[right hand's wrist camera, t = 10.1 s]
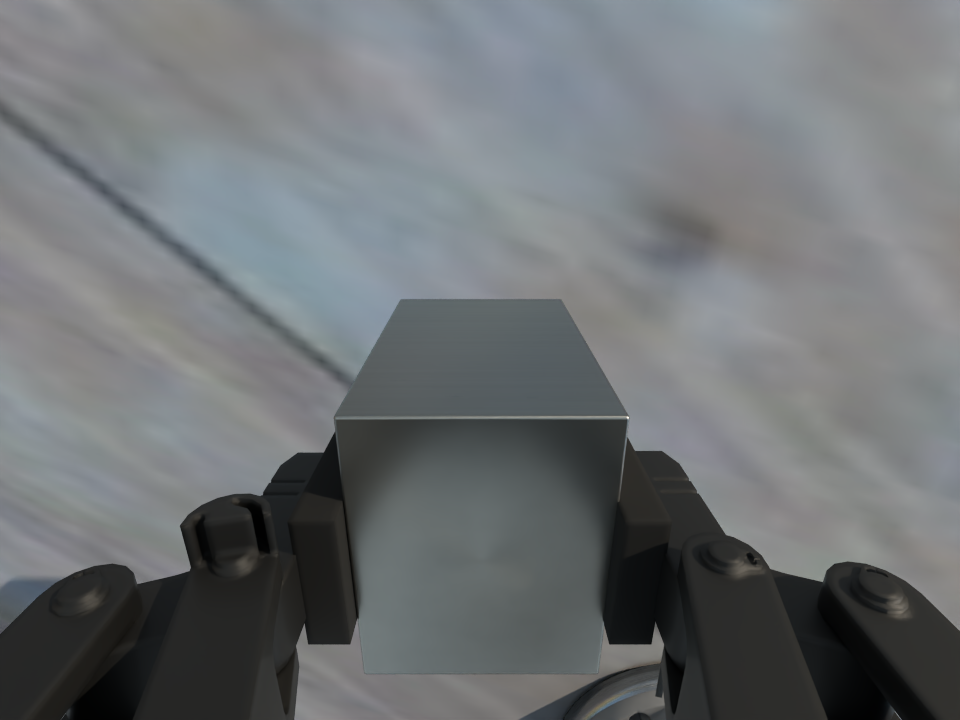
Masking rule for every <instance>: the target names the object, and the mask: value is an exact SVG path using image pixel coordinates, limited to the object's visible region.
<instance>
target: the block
mask: <svg viewBox="0 0 960 720" xmlns="http://www.w3.org/2000/svg"><path fill="white" fill-rule="evenodd" d="M334 424H335V433H336V441H337V449H338V458H339V466H340V475H341V483H342V491H343V500H344V508H345V517H346V525H347V533H348V542H349V550H350V559H351V567H352V576H353V584H354V592H355V601H356V609H357V618H358V626H359V634H360V643H361V651H362V660H363V668H364V673H365V674H598V672H599V664H600V656H601V648H602V640H603V631H604V622H603V618H604V610H605V602H606V593H607V585H608V577H609V568H610V560H611V552H612V543H613V535H614V527H615V518H616V510H617V502H619V500H620V492H621V484H622V475H623V467H624V459H625V451H626V442H627V434H628V426H629V416H628V414H627V412H626V410H625V409H624V407H623V405H622V404H621V402H620V400H619V398H618V397H617V395H616V393H615V391H614V390H613V388H612V386H611V385H610V383H609V381H608V379H607V378H606V376H605V374H604V373H603V371H602V369H601V367H600V366H599V364H598V362H597V360H596V359H595V357H594V355H593V354H592V352H591V350H590V348H589V347H588V345H587V343H586V341H585V340H584V338H583V336H582V335H581V333H580V331H579V329H578V328H577V326H576V324H575V323H574V321H573V319H572V317H571V316H570V314H569V312H568V310H567V309H566V307H565V305H564V304H563V302H562V300H561V299H401V300H400V302H399V303H398V305H397V307H396V309H395V310H394V312H393V314H392V316H391V317H390V319H389V321H388V323H387V324H386V326H385V328H384V330H383V331H382V333H381V335H380V337H379V339H378V340H377V342H376V344H375V346H374V347H373V349H372V351H371V353H370V354H369V356H368V358H367V360H366V361H365V363H364V365H363V367H362V368H361V370H360V372H359V374H358V376H357V377H356V379H355V381H354V383H353V384H352V386H351V388H350V390H349V391H348V393H347V395H346V397H345V398H344V400H343V402H342V404H341V405H340V407H339V409H338V411H337V413H336V414H335V416H334Z"/></svg>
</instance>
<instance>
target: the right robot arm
mask: <svg viewBox="0 0 960 720" xmlns="http://www.w3.org/2000/svg"><path fill="white" fill-rule="evenodd" d="M180 528H181V531H182V535H183V539H184V543H185V546H186V550H187V554H188V558H189V561H190V565H191V569H190V571H189V572H185V573H182V574H179V575H176V576H171V577H167V578H163V579H158V580H154V581H150V582H145V583H141V584H137V582H136V579H135V576H134V573H133V572H132V571H131V570H130V569H129V568H127V567H126V566H122V565H117V564H107V565H99V566H93V567H90V568H87V569H84V570H81V571H78V572H76V573H73V574H71V575H70V576H68V577H66V578H64V579H62V580H60V581H58V582H57V583H55V584H54V585H52V586H51V587H50V588H49V589H47V590H46V591H45V592H43V593H42V594H41V595H40V596H38V597H37V598H36V599H35V600H34V601H33V602H32V603H31V604H30V605H29V606H28V607H27V608H26V609H25V610H24V611H23V612H22V613H21V614H20V615H19V616H18V617H17V618H16V619H15V620H14V621H13V622H12V623H11V624H10V625H9V626H8V627H7V628H6V629H5V630H4V631H3V632H2V633H1V634H0V720H294V715H295V705H296V694H297V684H298V673H299V661H298V655H297V649H296V644H297V641H298V639H299V636H300V634H301V631H302V628H303V626H304V623H305V628H306V634H307V640H308V644H350V643H351V640H352V636H353V632H354V628H355V625H356V621H357V609H356V601H355V592H354V584H353V576H352V567H351V559H350V550H349V542H348V533H347V525H346V517H345V508H344V500H343V491H342V483H341V475H340V466H339V458H338V449H337V441H336V433H334V435H333V437H332V438H331V440H330V442H329V444H328V446H327V448H326V450H325V452H324V453H297V454H296V455H294V456H293V457H291V458H290V459H289V460H287V461H286V462H285V463H283V464H282V465H281V466H280V467H279V469H278V470H277V472H276V473H275V475H274V477H273V478H272V480H271V483H269V484H268V486H267V487H266V489H265V490H264V492H263V495H261V496H257V495H253V494H233V495H229V496H224V497H220V498H217V499H215V500H212V501H210V502H208V503H205V504H203V505H201V506H200V507H198V508H197V509H196V510H194V511H193V512H191V513H190V514H189V515H188V516H187V517H186V518H185V520H184V521H183V522H182V524H181V525H180ZM655 621H656V624H657V627H658V629H659V632H660V634H661V637H662V640H663V642H664V649H663V655H662V660H661V663H660V664H653V665H648V666H643V667H639V668H636V669H632V670H629V671H626V672H623V673H621V674H618V675H616V676H613V677H611V678H609V679H607V680H605V681H603V682H602V683H600V684H598V685H597V686H595V687H594V688H592V689H591V690H589V691H588V692H587V693H585V694H584V695H583V696H582V697H581V698H580V699H579V700H578V701H577V702H576V703H575V704H574V705H573V706H572V707H571V709H570V710H569V711H568V713H567V714H566V716H565V718H564V720H900V718H901V719H902V720H960V631H959V630H958V629H957V628H956V627H955V626H954V625H953V624H952V623H951V622H950V621H949V620H948V619H947V618H946V617H945V616H944V615H943V614H942V613H941V612H940V611H939V610H938V609H937V608H936V607H935V606H934V605H933V604H931V603H930V602H929V601H928V600H927V599H926V598H925V597H924V596H923V595H922V594H921V593H920V592H919V591H917V590H916V589H915V588H914V587H912V586H911V585H910V584H908V583H907V582H906V581H904V580H903V579H901V578H899V577H897V576H895V575H893V574H891V573H889V572H887V571H886V570H883V569H880V568H877V567H874V566H871V565H868V564H863V563H855V562H843V563H837V564H834V565H833V566H831V567H830V568H829V569H828V570H827V571H826V575H825V578H824V581H823V582H820V581H815V580H811V579H807V578H802V577H798V576H793V575H789V574H785V573H781V572H778V571H775V570H771V569H770V568H769V566H768V565H767V563H766V562H765V560H764V559H763V557H762V555H760V554H759V553H758V552H757V551H756V550H754V549H753V548H752V547H751V546H749V545H748V544H746V543H744V542H742V541H740V540H738V539H736V538H734V537H731V536H727V535H725V533H724V531H723V530H722V528H721V527H720V525H719V524H718V522H717V521H716V519H715V518H714V516H713V515H712V513H711V512H710V510H709V509H708V507H707V505H706V504H705V502H704V501H703V499H702V498H701V496H700V495H699V494H697V490H696V489H695V487H694V486H693V484H692V483H691V481H689V478H688V476H687V475H686V473H685V472H684V470H683V469H682V467H681V466H680V464H679V463H677V462H676V461H675V460H673V459H672V458H671V457H669V456H668V455H667V454H665V453H664V452H662V451H635V450H634V449H633V447H632V445H631V443H630V441H629V439H628V437H627V442H626V451H625V459H624V467H623V475H622V484H621V492H620V500H619V502H617V510H616V518H615V527H614V535H613V543H612V552H611V560H610V568H609V577H608V585H607V593H606V602H605V610H604V618H603V622H604V626H605V630H606V633H607V637H608V641H609V644H652V638H653V632H654V626H655ZM894 711H896V713H897V714H898V715H899V717H900V718H899V717H898V716H897V714H896V713H895V712H894ZM65 713H66V714H65ZM63 716H64V717H63ZM62 717H63V718H62Z"/></svg>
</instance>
